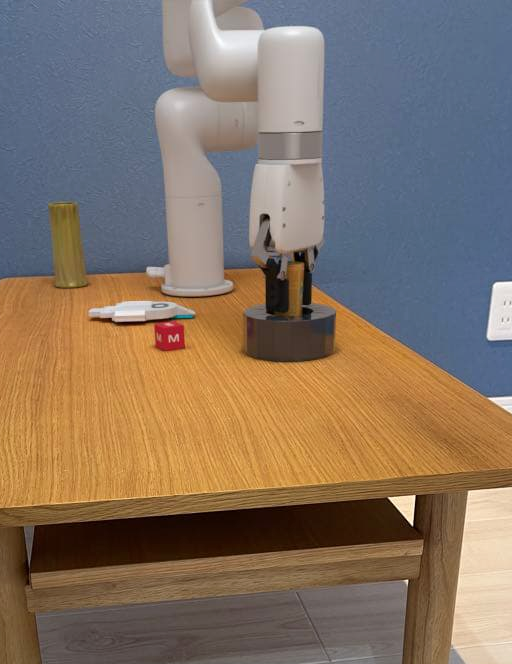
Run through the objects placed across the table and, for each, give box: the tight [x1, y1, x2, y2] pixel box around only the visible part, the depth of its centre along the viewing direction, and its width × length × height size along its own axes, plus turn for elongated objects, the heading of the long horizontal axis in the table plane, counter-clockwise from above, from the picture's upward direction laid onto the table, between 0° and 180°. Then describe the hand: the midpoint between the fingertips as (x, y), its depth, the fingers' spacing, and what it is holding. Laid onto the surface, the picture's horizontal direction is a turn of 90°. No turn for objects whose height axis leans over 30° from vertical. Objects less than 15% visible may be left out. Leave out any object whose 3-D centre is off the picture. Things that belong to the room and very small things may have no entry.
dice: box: [153, 320, 186, 352], centre depth 113 cm, size 3×3×3 cm
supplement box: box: [274, 260, 304, 316], centre depth 108 cm, size 3×3×10 cm
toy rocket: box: [88, 300, 196, 323], centre depth 130 cm, size 16×10×2 cm, turn 88°
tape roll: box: [242, 302, 337, 363], centre depth 109 cm, size 12×12×5 cm
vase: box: [47, 201, 89, 289], centre depth 155 cm, size 6×6×14 cm
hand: (288, 306), depth 108 cm, fingers closed on supplement box, 4 cm apart
